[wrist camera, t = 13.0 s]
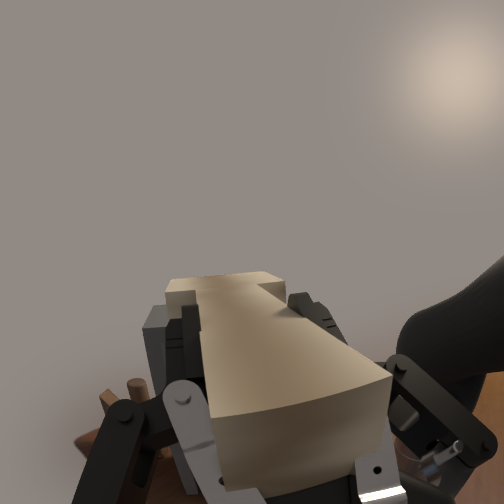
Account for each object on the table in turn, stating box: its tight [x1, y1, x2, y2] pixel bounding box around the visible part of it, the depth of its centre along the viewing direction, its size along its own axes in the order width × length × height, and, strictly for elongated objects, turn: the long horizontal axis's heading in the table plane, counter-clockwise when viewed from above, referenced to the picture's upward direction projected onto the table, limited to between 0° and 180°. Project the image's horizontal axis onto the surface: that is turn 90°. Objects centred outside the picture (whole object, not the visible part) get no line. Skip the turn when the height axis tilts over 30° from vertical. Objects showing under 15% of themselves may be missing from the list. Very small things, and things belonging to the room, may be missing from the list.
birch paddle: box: [165, 271, 393, 499], centre depth 15 cm, size 8×20×3 cm, turn 12°
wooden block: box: [99, 378, 168, 458], centre depth 45 cm, size 4×11×18 cm, turn 84°
